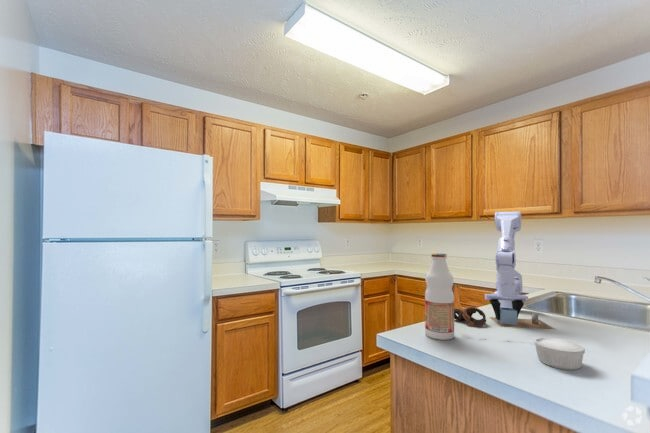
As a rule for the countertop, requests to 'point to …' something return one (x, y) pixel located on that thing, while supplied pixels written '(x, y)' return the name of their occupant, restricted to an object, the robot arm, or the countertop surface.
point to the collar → (508, 316)
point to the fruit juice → (439, 300)
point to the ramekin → (559, 353)
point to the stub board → (526, 323)
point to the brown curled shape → (470, 316)
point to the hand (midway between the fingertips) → (506, 319)
